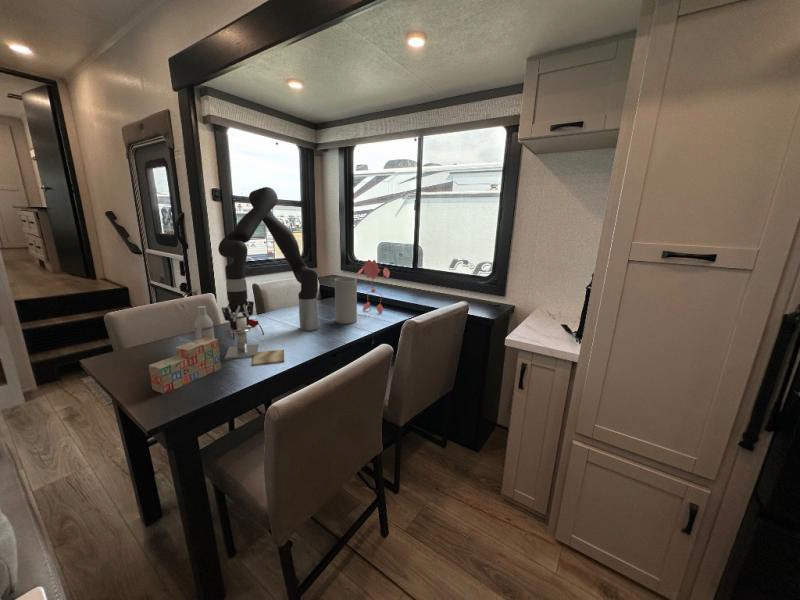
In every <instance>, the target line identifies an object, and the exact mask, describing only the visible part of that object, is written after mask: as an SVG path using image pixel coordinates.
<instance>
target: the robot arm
mask: <svg viewBox="0 0 800 600" xmlns="http://www.w3.org/2000/svg"><path fill="white" fill-rule="evenodd" d="M278 198H279V197H278V194H277V192H276V191H275V190H274V189H273V188H271V186H270V187H268V186H267V187H266V186H264V187H260V188H258V189H255V190H252V191H251V192H250V193H249V196H248V199H249V203H250V204H251V207H252V208H251V209H250V210H249V211H248V212H247V213H246V214H245V215H244V216H242V218H241V219H240V220H239V221H238V223H237V224H236V226H235V227H234V229H233V230H232V231H231V232H230V233H228V234H227V235H226V236H225V237H224V238H222V240H221V241H220V243H219V245H218V247H217V248H218V250H217V251H218V253H219V255H220V256H222V257H224V258H229V259H230V258H231V259H233V261H232V263H228V264H226V265H225V267H224V270H225V271H224V272H225V282H226V284H225V286H226V287H225V288H226V297H227V299H226V300H227V302H228V304H227V306H226V307H225V306H223V307H221V312H222V315H223V317H224V320H225V321H227V322H229V324H230V325H231V326H230V328H231V329H232V330H236V329H237V326H236V317H238V315H239V314H240V313H241V314H242V315H241V316H245V317H246V320H247V327H249V326H250V325H249V319H250V316H253V314H254V301H252V300H251V301H250V300H248V297H249V296H248V288H247V281H246V272H245V271H246V270H245V267H246V263H247V258H248V246H247V245H246V243H248V242H249V241H250V240H251V239H252V236H253V235H254V234H255V232H256V231H257V229H258V227H259V226H260V224H261V223H262V222H263V224H264V225H265V227H266V228H267V230H268V231H269V234H270V235H271V236H272V238H273V240H274V242H275V243H276V245H277V247H278V248H279V251H280V252H281V254H282V256H283V257H284V259H285V260H286V262H287V263H288V265H289V267H290V269H291V271H292V273H293V275H294V277H295V279H296V281H297V282H298V283H299V284H300V291H299V292H298V314H299V330H300V331H304V332H309V331H310V332H312V331H315V330H318V329H319V317H318V315H319V313H318V302H317V294H318V292H319V291H318V290H319V276H318V273H317V271H316V270H315V269H314V268H310V267H308V266H307V264H306V262H305V260H304V259H303V258H302V255H301V251H300V247H299V244H298V240H297V239H296V237H295V235H294V233H293V232H292V230H291V229H290V228H289V227H288V226H287V225H285V223H284V222H281V221H280V220H279V219H278V218H277V217H276V216H275V214H273V212H272V210H273V209H274V207H276V205H277V204H278Z"/></svg>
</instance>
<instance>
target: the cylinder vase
mask: <svg viewBox="0 0 800 600" xmlns="http://www.w3.org/2000/svg"><path fill="white" fill-rule="evenodd" d="M357 281H358V279H357V278H355V277H337V278H334V307H335V308H334V312H335V313H334V316H335V322H336V323H337V324H343V325H347V324H348V325H350V324H354V323H356V322H357V321H358V309H357V308H358V307H357V305H358V287H357V286H358V284H357V283H358V282H357Z"/></svg>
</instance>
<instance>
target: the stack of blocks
mask: <svg viewBox="0 0 800 600" xmlns="http://www.w3.org/2000/svg"><path fill="white" fill-rule="evenodd" d="M219 343H220V342H219V339H217V338H215V339H214V338H209V337H206V338H203V339H199V340H196V339H195V340H193V341H190V342H187V343H185V344H182V345H178V346H175V348H174V349H175V355H174V356H171V357H169V358H164V359H163V360H160V361H157V362H154V363H152V364H149V365H148V371H149V378H150V383H151V388H152V390H153V391H155V392H158V393H160V394H164V395H165V394H167V393H169V392H172V391H173V390H176V389H178V388H181V387H183V386H185V385H187V384H190V383H192V382H194V381H197V380H199V379H201V378H203V377H206V376H207V375H210V374H212V373H215V372H217V371H219V370H221V369H222V362H221V352H220V351H221V349H220V344H219Z"/></svg>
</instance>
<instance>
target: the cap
mask: <svg viewBox="0 0 800 600" xmlns="http://www.w3.org/2000/svg"><path fill="white" fill-rule="evenodd" d="M236 326H237V329H236V330H234V331H244V330H246V329H247V327H248V326H247V320H246V317H245V316H243V315H241V316H237V317H236Z"/></svg>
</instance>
